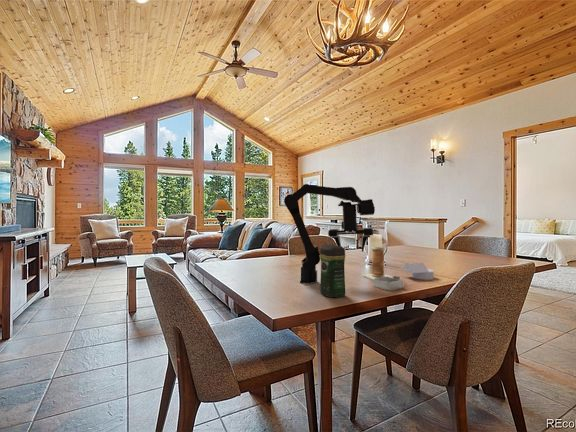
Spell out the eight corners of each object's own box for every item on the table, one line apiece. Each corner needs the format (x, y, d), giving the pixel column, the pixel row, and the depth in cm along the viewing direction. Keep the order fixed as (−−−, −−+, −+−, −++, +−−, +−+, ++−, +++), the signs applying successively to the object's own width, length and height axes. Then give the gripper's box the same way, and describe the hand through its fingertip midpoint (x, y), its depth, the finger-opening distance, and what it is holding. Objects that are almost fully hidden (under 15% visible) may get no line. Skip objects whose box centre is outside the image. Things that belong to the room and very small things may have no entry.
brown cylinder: (375, 277, 134) (375, 249, 133) (369, 275, 139) (369, 247, 139) (386, 277, 135) (387, 248, 135) (380, 274, 140) (380, 246, 140)
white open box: (389, 290, 115) (389, 281, 115) (373, 286, 122) (373, 277, 122) (406, 287, 120) (406, 278, 120) (389, 282, 127) (389, 274, 127)
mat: (375, 281, 130) (375, 279, 130) (361, 275, 140) (361, 274, 140) (396, 279, 134) (396, 277, 134) (380, 273, 144) (380, 272, 144)
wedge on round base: (411, 280, 131) (438, 279, 133) (411, 265, 131) (438, 264, 133) (400, 276, 140) (425, 274, 142) (400, 261, 140) (425, 260, 142)
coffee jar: (349, 296, 108) (349, 245, 108) (330, 299, 105) (330, 247, 104) (334, 289, 117) (334, 242, 116) (317, 292, 114) (316, 243, 113)
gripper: (372, 214, 135) (373, 248, 135) (330, 216, 140) (332, 249, 140) (372, 215, 124) (373, 252, 124) (327, 217, 129) (329, 253, 130)
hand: (351, 251), depth 130 cm, fingers open, 9 cm apart
